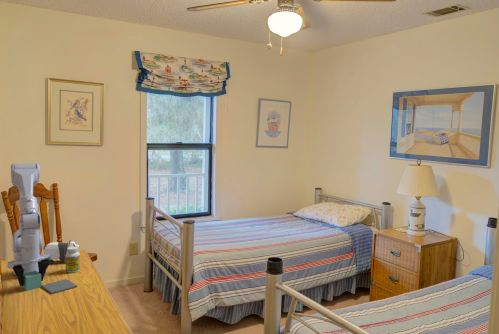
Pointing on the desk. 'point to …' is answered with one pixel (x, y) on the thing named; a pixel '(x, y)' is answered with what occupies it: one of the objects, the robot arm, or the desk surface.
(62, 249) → the giant panda
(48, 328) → the desk surface
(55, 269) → the desk surface
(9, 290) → the desk surface
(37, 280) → the teal cube
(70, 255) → the supplement bottle
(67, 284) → the slate mat
